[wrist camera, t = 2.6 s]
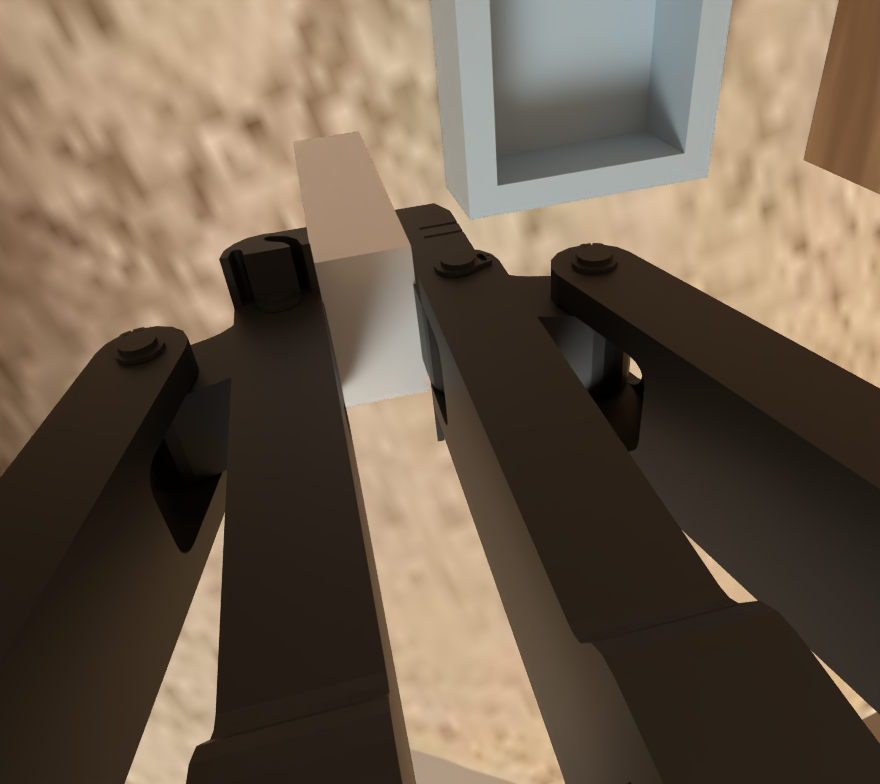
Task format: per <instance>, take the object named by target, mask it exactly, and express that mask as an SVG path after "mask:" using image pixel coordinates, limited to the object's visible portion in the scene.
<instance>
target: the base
mask: <svg viewBox="0 0 880 784" xmlns="http://www.w3.org/2000/svg"><path fill="white" fill-rule="evenodd" d="M804 160H805V161H807V162H809V163H812V164H814V165H816V166H818V167H820V168H823V169H825V170H827V171H829V172H832V173H834V174H836V175H838V176H840V177H843V178H845V179H847V180H849V181H851V182H854V183H856V184H858V185H860V186H863V187H865V188H867V189H869V190H871V191H874V192H876V193H878V194H880V0H839V4H838V8H837V13H836V17H835V22H834V26H833V31H832V35H831V40H830V44H829V49H828V53H827V58H826V62H825V67H824V71H823V76H822V81H821V85H820V90H819V94H818V99H817V103H816V108H815V112H814V117H813V121H812V126H811V130H810V135H809V139H808V144H807V148H806V153H805V157H804Z"/></svg>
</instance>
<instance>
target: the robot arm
mask: <svg viewBox="0 0 880 784" xmlns="http://www.w3.org/2000/svg"><path fill="white" fill-rule="evenodd" d="M293 144H294V151H295V157H296V163H297V170H298V176H299V182H300V189H301V195H302V201H303V208H304V214H305V220H306V227H305V228H299V229H293V230H287V231H282V232H276V233H269V234H262V235H258V236H254V237H250V238H247V239H244V240H242V241H240V242H237V243H235V244H233V245H232V246H230V247H229V248H228V249H226V250H225V251H223V253H222V255H221V257H220V259H219V260H220V263H221V266H222V270H223V273H224V276H225V279H226V283H227V286H228V289H229V292H230V296H231V299H232V302H233V305H234V309H235V310H234V325H233V326H232V327H231V328H229V329H227V330H226V331H224V332H222V333H221V334H218V335H216V336H214V337H211V338H209V339H207V340H204V341H201V342H198V343H195V344H193V345H190V343H189V340H188V338H187V336H186V335H185V333H184V332H183V331H182V330H179V329H176V328H174V327H163V326H155V327H149V328H144V327H142V328H138V329H134V330H133V331H132V332H131V331H128V332H126V333H123V334H121V335H120V336H119V337H118V338H116V339H114V340H112V341H110V342H109V343H107V344H106V345H104V346H103V347H102V348H101V349H100V350H99V351H98V352H97V353H96V354H95V355H94V356H93V358H92V359H91V360H90V362H89V363H88V364H87V366H86V367H85V368H84V369H83V371H82V372H81V373H80V375H79V376H78V377H77V379H76V380H75V381H74V382H73V384H72V385H71V386H70V388H69V389H68V390H67V392H66V393H65V394H64V396H63V397H62V398H61V399H60V401H59V402H58V403H57V405H56V406H55V407H54V409H53V410H52V411H51V412H50V414H49V415H48V416H47V418H46V419H45V420H44V422H43V423H42V424H41V426H40V427H39V428H38V429H37V431H36V432H35V433H34V435H33V436H32V437H31V439H30V440H29V441H28V442H27V444H26V445H25V446H24V448H23V449H22V450H21V452H20V453H19V454H18V455H17V457H16V458H15V459H14V461H13V462H12V463H11V465H10V466H9V467H8V469H7V470H6V471H5V472H4V474H3V475H2V476H1V478H0V784H124V783H125V781H126V778H127V775H128V773H129V770H130V767H131V764H132V762H133V759H134V756H135V754H136V751H137V748H138V745H139V743H140V740H141V737H142V735H143V732H144V729H145V727H146V724H147V721H148V718H149V716H150V713H151V710H152V708H153V705H154V702H155V699H156V697H157V694H158V691H159V689H160V686H161V683H162V681H163V678H164V675H165V672H166V670H167V667H168V664H169V662H170V659H171V656H172V653H173V651H174V648H175V645H176V643H177V640H178V637H179V635H180V632H181V629H182V626H183V624H184V621H185V618H186V616H187V613H188V610H189V607H190V605H191V602H192V599H193V597H194V594H195V591H196V589H197V586H198V583H199V580H200V578H201V575H202V572H203V570H204V567H205V564H206V561H207V559H208V556H209V553H210V551H211V548H212V545H213V543H214V540H215V537H216V534H217V532H218V529H219V526H220V524H221V521H222V518H223V515H224V513H225V525H224V547H223V568H222V590H221V611H220V633H219V654H218V676H217V697H216V716H215V725H214V731H213V734H212V736H211V739H210V740H209V741H206V742H204V743H202V744H200V745H198V746H196V748H195V751H194V753H193V756H192V758H191V761H190V763H189V767H188V774H187V780H186V784H416V781H415V775H414V770H413V764H412V759H411V754H410V748H409V743H408V737H407V732H406V727H405V721H404V716H403V710H402V705H401V700H400V694H399V689H398V683H397V678H396V673H395V667H394V662H393V656H392V651H391V646H390V640H389V635H388V629H387V624H386V619H385V613H384V608H383V602H382V597H381V592H380V586H379V581H378V575H377V570H376V565H375V559H374V554H373V548H372V543H371V538H370V532H369V527H368V521H367V516H366V511H365V505H364V500H363V495H362V489H361V484H360V478H359V473H358V468H357V462H356V457H355V451H354V446H353V441H352V435H351V430H350V424H349V420H348V415H347V411H346V408H347V407H351V406H356V405H361V404H366V403H371V402H376V401H381V400H386V399H391V398H396V397H400V396H405V395H410V394H415V393H420V392H425V391H429V386H428V378H427V373H428V375H429V378H430V381H431V388H432V396H433V404H434V412H435V420H436V429H437V437H438V441H443V440H444V437H445V440H446V443H447V446H448V449H449V452H450V454H451V457H452V460H453V463H454V466H455V469H456V472H457V474H458V477H459V480H460V483H461V486H462V489H463V492H464V494H465V497H466V500H467V503H468V506H469V509H470V512H471V514H472V517H473V520H474V523H475V526H476V529H477V532H478V534H479V537H480V540H481V543H482V546H483V549H484V552H485V554H486V557H487V560H488V563H489V566H490V569H491V572H492V574H493V577H494V580H495V583H496V586H497V589H498V592H499V594H500V597H501V600H502V603H503V606H504V609H505V612H506V614H507V617H508V620H509V623H510V626H511V629H512V632H513V635H514V637H515V640H516V643H517V646H518V649H519V652H520V655H521V657H522V660H523V663H524V666H525V669H526V672H527V675H528V677H529V680H530V683H531V686H532V689H533V692H534V695H535V697H536V700H537V703H538V706H539V709H540V712H541V715H542V717H543V720H544V723H545V726H546V729H547V732H548V735H549V737H550V740H551V743H552V746H553V749H554V752H555V755H556V757H557V760H558V763H559V766H560V769H561V772H562V775H563V777H564V781H565V784H880V743H879V742H878V741H877V739H876V738H875V737H874V735H873V734H872V733H871V731H870V730H869V729H868V727H867V726H866V725H865V723H864V722H863V721H862V719H861V718H860V716H859V715H858V714H857V712H856V711H855V710H854V708H853V707H852V706H851V704H850V703H849V702H848V700H847V699H846V698H845V696H844V695H843V693H842V692H841V691H840V689H839V688H838V687H837V685H836V684H835V683H834V681H833V680H832V679H831V677H830V676H829V675H828V673H827V672H826V671H825V669H824V668H823V666H822V665H821V664H820V662H819V661H818V660H817V658H816V657H815V656H814V654H816V655H817V656H818V657H819V658H820V659H821V660H822V661H823V662H824V663H825V664H826V665H827V666H828V667H829V668H831V669H832V670H833V671H834V672H835V673H836V674H837V675H838V676H839V677H840V678H841V679H842V680H843V681H844V682H846V683H847V684H848V685H849V686H850V687H851V688H852V689H853V690H854V691H855V692H856V693H857V694H858V695H859V696H861V697H862V698H863V699H864V700H865V701H866V702H867V703H868V704H869V705H870V706H871V707H872V708H873V709H874V710H876V711H877V712H878V713H879V714H880V388H878V387H876V386H874V385H873V384H871V383H869V382H867V381H865V380H863V379H862V378H860V377H858V376H856V375H854V374H852V373H851V372H849V371H847V370H845V369H843V368H841V367H840V366H838V365H836V364H834V363H832V362H830V361H829V360H827V359H825V358H823V357H821V356H819V355H818V354H816V353H814V352H812V351H810V350H808V349H807V348H805V347H803V346H801V345H799V344H797V343H796V342H794V341H792V340H790V339H788V338H786V337H785V336H783V335H781V334H779V333H777V332H775V331H774V330H772V329H770V328H768V327H766V326H764V325H763V324H761V323H759V322H757V321H755V320H753V319H752V318H750V317H748V316H746V315H744V314H742V313H741V312H739V311H737V310H735V309H733V308H731V307H730V306H728V305H726V304H724V303H722V302H720V301H719V300H717V299H715V298H713V297H711V296H709V295H708V294H706V293H704V292H702V291H700V290H698V289H697V288H695V287H693V286H691V285H689V284H687V283H686V282H684V281H682V280H680V279H678V278H676V277H675V276H673V275H671V274H669V273H667V272H665V271H664V270H662V269H660V268H658V267H656V266H654V265H653V264H651V263H649V262H647V261H645V260H643V259H642V258H640V257H638V256H636V255H634V254H632V253H631V252H629V251H626V250H623V249H621V248H618V247H614V246H607V245H604V244H601V243H593V245H591V243H588V244H581V245H580V246H577V247H572V248H568V249H566V250H564V251H561V252H559V253H557V254H556V256H555V257H554V258H553V259H552V260H551V276H530V277H528V276H513V275H509V274H508V273H507V271H506V270H505V268H504V267H503V266H502V264H501V263H500V261H499V260H498V259H497V258H496V257H495V256H493V255H492V254H490V253H487V252H484V251H481V250H474V248H473V246H472V245H471V243H470V242H469V240H468V238H467V237H466V235H465V234H464V232H462V229H461V227H460V226H459V224H458V223H457V221H456V220H455V218H454V216H453V215H452V213H451V212H450V211H449V210H447V209H445V208H443V207H441V206H439V205H436V204H434V203H433V204H427V205H422V206H416V207H410V208H404V209H398V210H394V208H393V205H392V203H391V201H390V199H389V197H388V194H387V192H386V190H385V188H384V186H383V183H382V181H381V179H380V177H379V175H378V172H377V170H376V168H375V166H374V164H373V161H372V159H371V157H370V155H369V153H368V150H367V148H366V146H365V144H364V142H363V139H362V137H361V135H360V133H359V132H352V133H346V134H340V135H333V136H327V137H320V138H314V139H307V140H301V141H295V142H293ZM630 357H631V358H632V359H633V360H634V361H635V362H636V363H637V365H638V367H639V368H640V370H641V373H642V379H639V378H637V377H636V376H634V375H633V374H632V373H630V372H629V367H630ZM681 529H682V530H683V531H684V532H685V533H686V534H687V535H688V536H689V537H690V538H691V539H692V540H693V541H694V542H696V543H697V544H698V545H699V546H700V547H701V548H702V549H703V550H704V551H705V552H706V553H707V554H708V555H709V556H711V557H712V558H713V559H714V560H715V561H716V562H717V563H718V564H719V565H720V566H721V567H722V568H723V569H724V570H726V571H727V572H728V573H729V574H730V575H731V576H732V577H733V578H734V579H735V580H736V581H737V582H738V583H739V584H741V585H742V586H743V587H744V588H745V589H746V590H747V591H748V592H749V593H750V594H751V595H752V596H753V597H754V598H756V599H757V600H758V601H753V602H745V603H737V602H736V601H734V600H732V599H731V598H729V597H728V596H727V594H726V593H725V592H724V591H723V590H722V589H721V587H720V586H719V585H718V583H717V582H716V580H715V579H714V577H713V576H712V574H711V573H710V571H709V570H708V568H707V567H706V565H705V564H704V562H703V561H702V560H701V558H700V557H699V555H698V554H697V552H696V551H695V549H694V548H693V546H692V545H691V543H690V542H689V540H688V539H687V537H686V536H685V534H684V533H683V531H682V530H681ZM811 651H812V652H813V653H814V654H813V653H812V652H811Z"/></svg>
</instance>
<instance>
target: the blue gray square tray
mask: <svg viewBox="0 0 880 784" xmlns="http://www.w3.org/2000/svg"><path fill="white" fill-rule="evenodd" d="M732 1H733V0H430V5H431V16H432V28H433V39H434V51H435V62H436V73H437V85H438V96H439V108H440V119H441V130H442V142H443V153H444V164H445V176H446V187H447V189H448V190H449V191H450V193H451V194H452V196H453V197H454V198H455V200H456V201H457V203H458V204H459V205H460V207H461V208H462V209H463V211H464V212H465V214H466V215H467V216H468V218H469V219H470V220H473V219H479V218H485V217H490V216H496V215H501V214H507V213H512V212H518V211H524V210H529V209H535V208H540V207H546V206H551V205H557V204H563V203H568V202H574V201H579V200H585V199H590V198H596V197H601V196H607V195H613V194H618V193H624V192H629V191H635V190H640V189H646V188H652V187H657V186H663V185H668V184H674V183H679V182H685V181H691V180H696V179H702V178H707V177H708V171H709V164H710V157H711V150H712V143H713V136H714V129H715V122H716V115H717V108H718V100H719V93H720V86H721V79H722V72H723V65H724V58H725V51H726V44H727V36H728V29H729V22H730V15H731V8H732Z"/></svg>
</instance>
